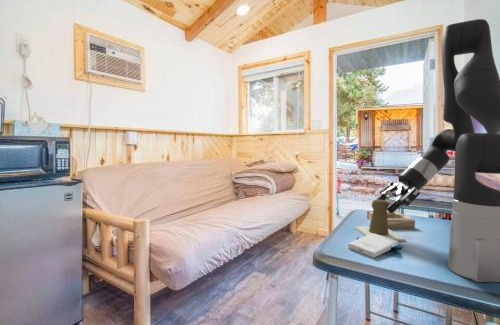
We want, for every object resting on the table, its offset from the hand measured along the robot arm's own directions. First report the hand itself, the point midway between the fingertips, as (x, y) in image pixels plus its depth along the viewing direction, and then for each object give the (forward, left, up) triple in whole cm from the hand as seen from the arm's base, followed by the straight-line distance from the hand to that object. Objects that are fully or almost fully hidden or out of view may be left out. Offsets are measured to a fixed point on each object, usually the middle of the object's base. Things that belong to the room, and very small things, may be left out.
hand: (381, 207), depth 88 cm
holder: (+13, -11, -9) cm, 19 cm away
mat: (0, 0, -9) cm, 9 cm away
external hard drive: (-12, +8, -9) cm, 17 cm away
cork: (0, 0, -9) cm, 9 cm away
